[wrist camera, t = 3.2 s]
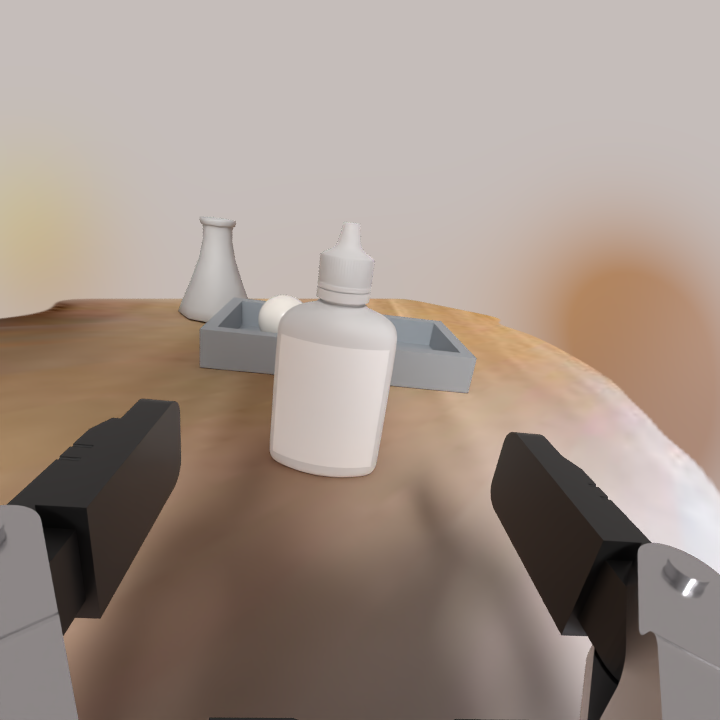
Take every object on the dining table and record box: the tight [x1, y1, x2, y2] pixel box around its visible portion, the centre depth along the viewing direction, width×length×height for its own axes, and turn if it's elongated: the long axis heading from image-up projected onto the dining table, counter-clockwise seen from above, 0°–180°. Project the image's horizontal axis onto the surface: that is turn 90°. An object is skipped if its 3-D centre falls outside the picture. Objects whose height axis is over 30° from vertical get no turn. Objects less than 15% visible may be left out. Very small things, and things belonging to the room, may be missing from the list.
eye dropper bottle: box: [270, 222, 397, 477], centre depth 19 cm, size 4×6×12 cm
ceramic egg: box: [258, 295, 302, 333], centre depth 35 cm, size 4×4×4 cm
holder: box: [200, 297, 477, 393], centre depth 36 cm, size 21×11×3 cm, turn 93°
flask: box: [178, 217, 248, 322], centre depth 42 cm, size 7×7×10 cm
